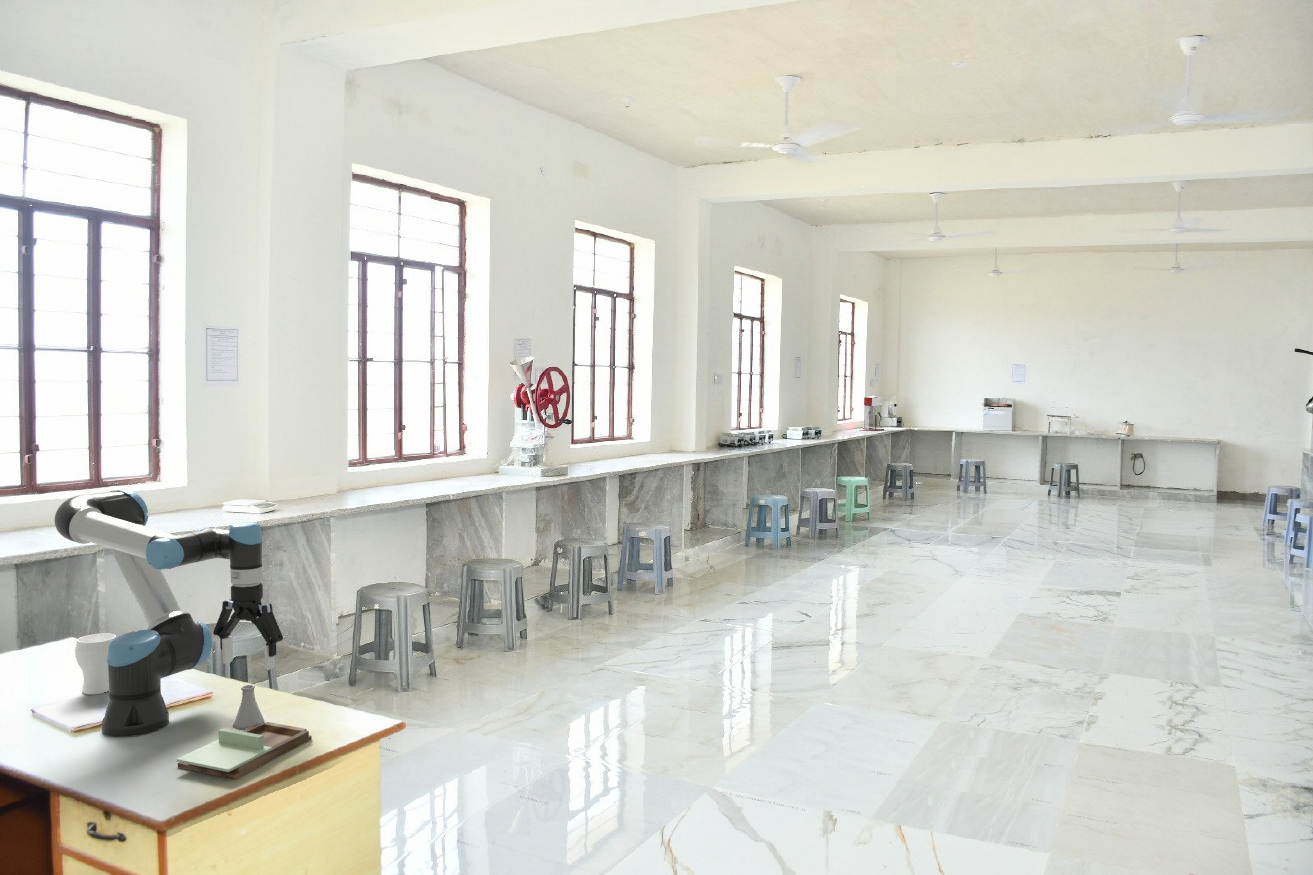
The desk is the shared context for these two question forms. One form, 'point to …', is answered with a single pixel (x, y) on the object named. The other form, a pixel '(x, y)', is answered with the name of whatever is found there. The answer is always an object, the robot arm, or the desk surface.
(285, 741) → the tray
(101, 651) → the cup
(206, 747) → the cover
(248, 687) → the flask
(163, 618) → the robot arm
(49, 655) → the desk surface
